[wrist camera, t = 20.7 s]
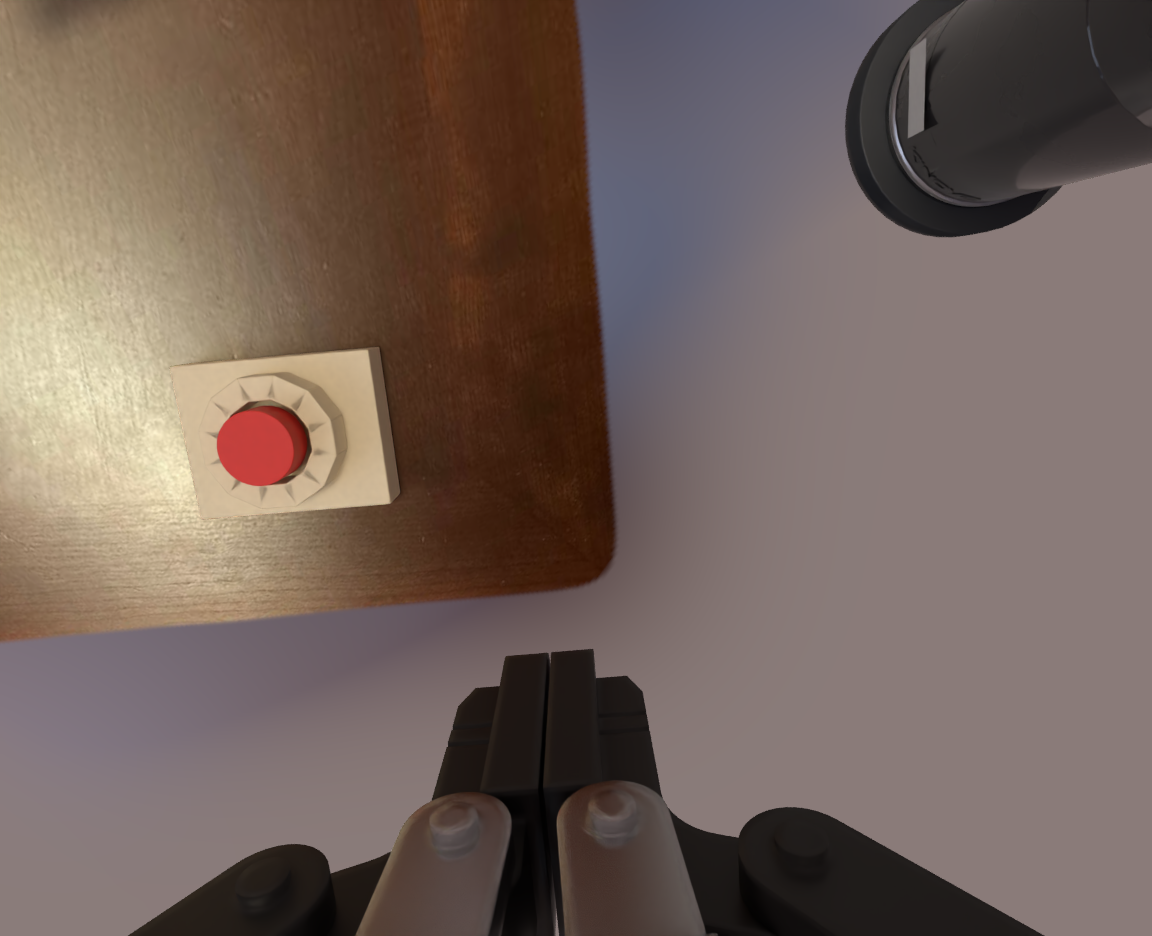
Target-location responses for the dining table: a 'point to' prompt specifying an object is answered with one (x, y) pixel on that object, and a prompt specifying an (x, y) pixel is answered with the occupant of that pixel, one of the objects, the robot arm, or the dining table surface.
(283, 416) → the button
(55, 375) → the dining table surface
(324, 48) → the dining table surface
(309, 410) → the box
